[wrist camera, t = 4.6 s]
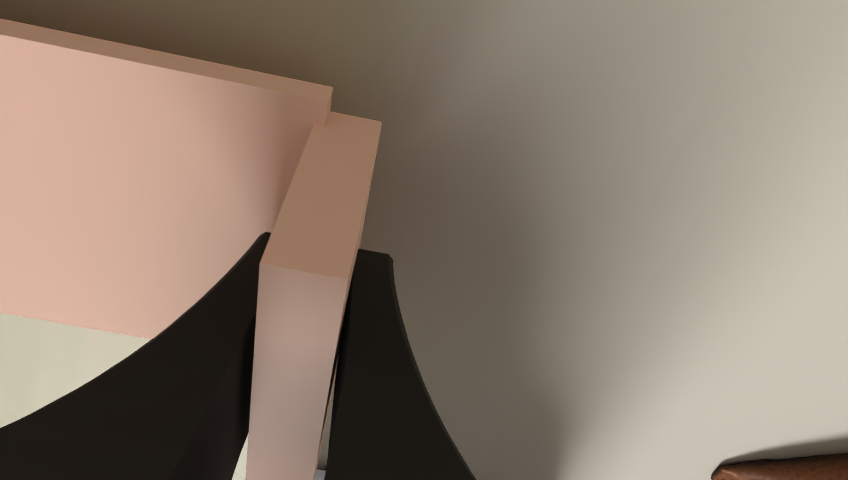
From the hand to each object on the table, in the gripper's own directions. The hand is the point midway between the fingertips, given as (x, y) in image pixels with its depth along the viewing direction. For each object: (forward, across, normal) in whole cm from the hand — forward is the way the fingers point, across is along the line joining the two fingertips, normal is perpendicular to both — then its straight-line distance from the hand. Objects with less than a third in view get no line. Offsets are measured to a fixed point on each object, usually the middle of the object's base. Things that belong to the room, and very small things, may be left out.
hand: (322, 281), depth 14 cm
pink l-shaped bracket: (+1, +6, 0) cm, 7 cm away
